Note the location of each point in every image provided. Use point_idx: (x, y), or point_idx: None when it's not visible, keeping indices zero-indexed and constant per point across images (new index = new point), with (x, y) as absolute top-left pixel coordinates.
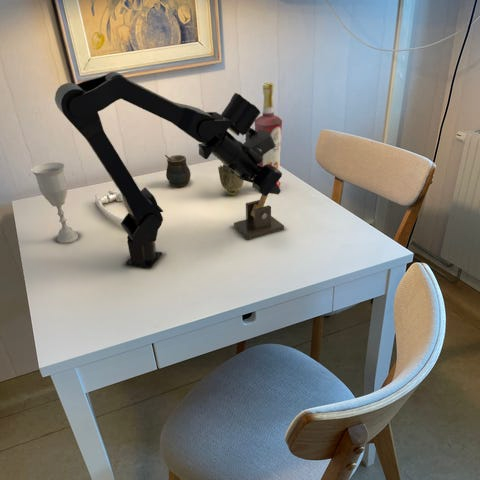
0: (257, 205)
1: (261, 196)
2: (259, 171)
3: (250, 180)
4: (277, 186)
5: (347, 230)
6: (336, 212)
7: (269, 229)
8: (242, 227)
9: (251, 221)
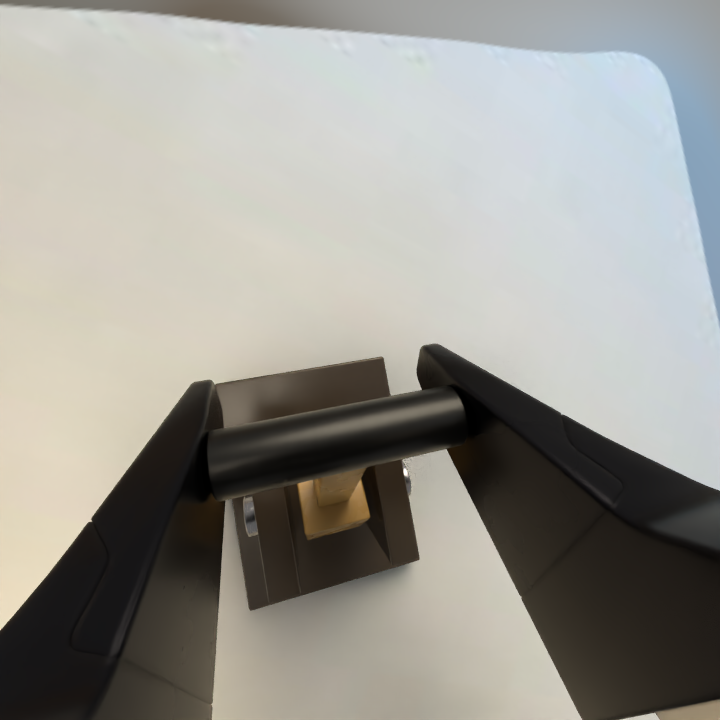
0: (327, 512)
1: (326, 494)
2: (147, 589)
3: (209, 689)
4: (508, 390)
5: (471, 121)
6: (301, 60)
7: None
8: (328, 572)
9: (293, 512)
